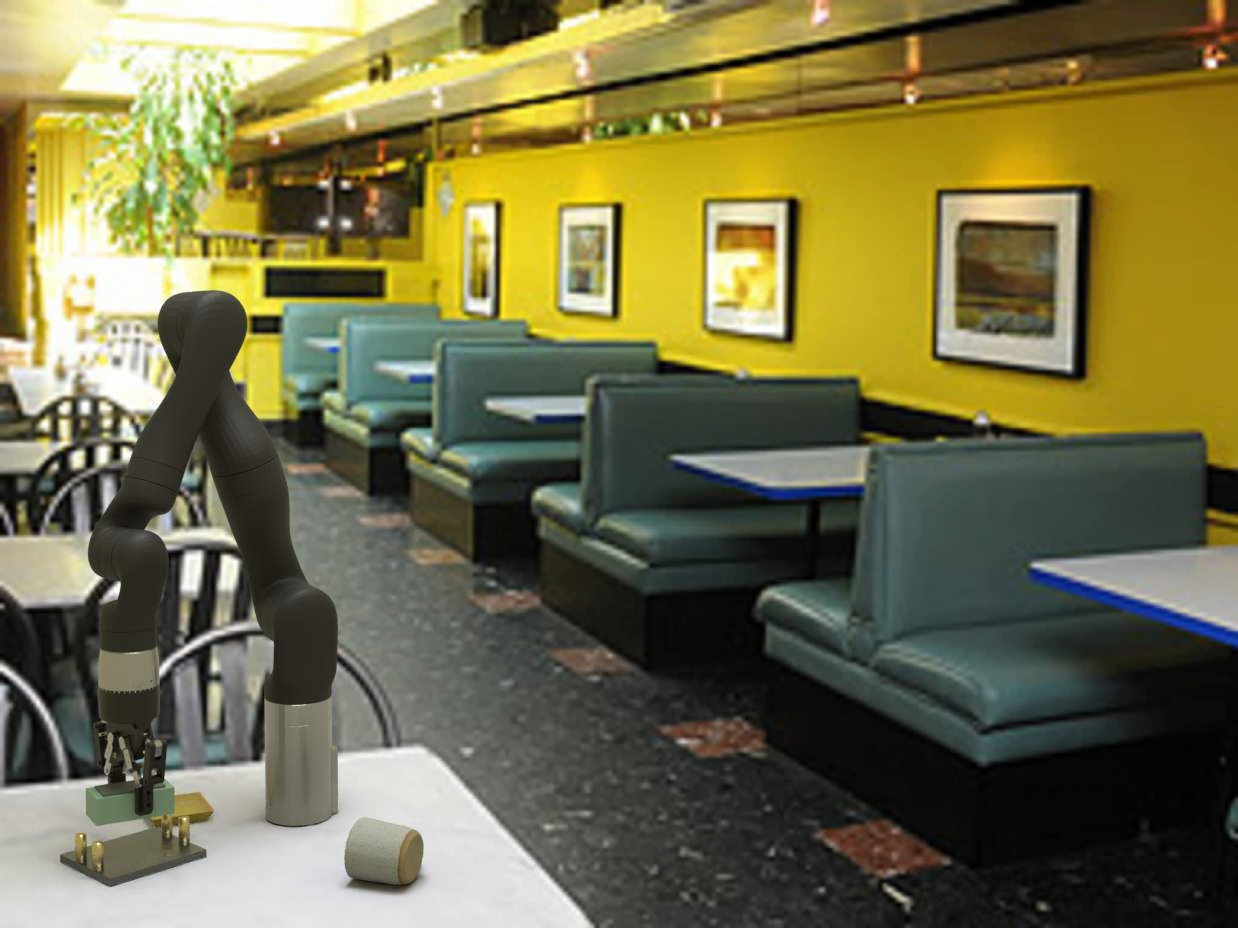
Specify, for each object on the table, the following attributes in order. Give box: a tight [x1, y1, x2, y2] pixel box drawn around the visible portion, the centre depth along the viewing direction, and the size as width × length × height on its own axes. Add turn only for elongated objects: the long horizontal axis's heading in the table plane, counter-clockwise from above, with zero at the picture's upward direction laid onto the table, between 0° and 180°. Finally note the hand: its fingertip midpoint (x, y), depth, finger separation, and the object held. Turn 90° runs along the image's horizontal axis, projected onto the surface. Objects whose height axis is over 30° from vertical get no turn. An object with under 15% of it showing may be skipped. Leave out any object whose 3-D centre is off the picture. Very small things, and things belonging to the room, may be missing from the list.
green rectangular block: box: [85, 778, 176, 827], centre depth 208 cm, size 10×5×4 cm, turn 123°
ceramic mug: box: [343, 816, 425, 886], centre depth 205 cm, size 11×8×8 cm
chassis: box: [59, 814, 208, 887], centre depth 209 cm, size 14×12×4 cm
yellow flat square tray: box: [149, 791, 215, 828], centre depth 226 cm, size 9×9×2 cm
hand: (130, 807), depth 209 cm, fingers closed on green rectangular block, 5 cm apart
